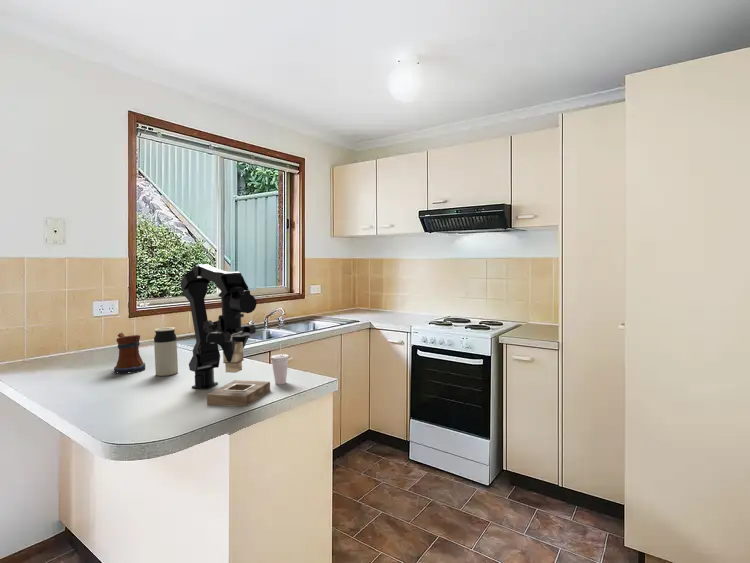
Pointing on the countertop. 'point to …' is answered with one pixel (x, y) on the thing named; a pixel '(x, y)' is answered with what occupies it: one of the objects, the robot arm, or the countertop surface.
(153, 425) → the countertop surface
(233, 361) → the peg
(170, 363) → the travel mug
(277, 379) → the smoothie
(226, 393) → the board
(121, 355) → the mug
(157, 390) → the countertop surface
